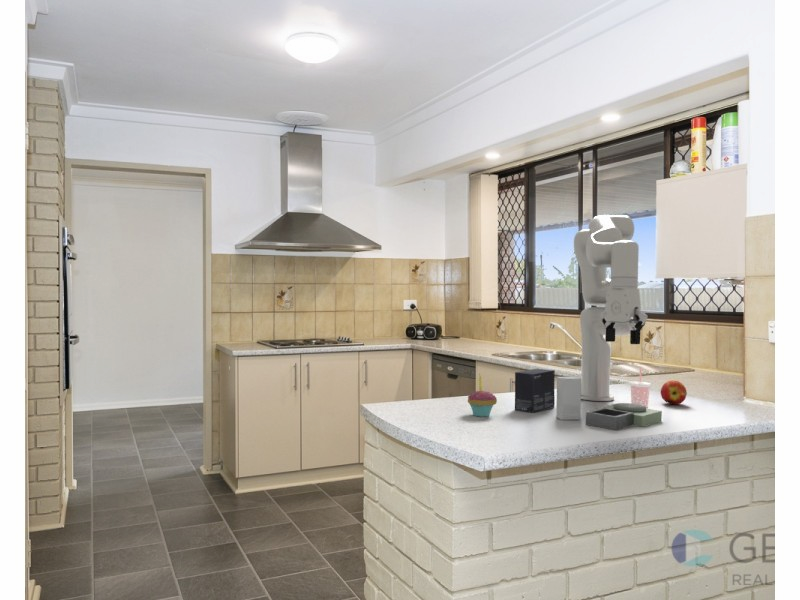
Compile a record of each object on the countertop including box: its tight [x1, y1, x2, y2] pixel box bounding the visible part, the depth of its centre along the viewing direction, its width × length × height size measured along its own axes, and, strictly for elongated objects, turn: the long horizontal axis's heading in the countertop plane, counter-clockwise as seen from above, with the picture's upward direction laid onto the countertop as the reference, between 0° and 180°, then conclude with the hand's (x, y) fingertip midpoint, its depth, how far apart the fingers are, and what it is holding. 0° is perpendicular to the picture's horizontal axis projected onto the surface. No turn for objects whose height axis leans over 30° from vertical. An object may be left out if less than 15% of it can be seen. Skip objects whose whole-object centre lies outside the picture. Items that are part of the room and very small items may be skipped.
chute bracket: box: [585, 408, 634, 431], centre depth 178 cm, size 9×10×4 cm
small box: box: [514, 368, 556, 414], centre depth 199 cm, size 13×7×12 cm, turn 137°
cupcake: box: [467, 373, 498, 418], centre depth 188 cm, size 9×8×12 cm
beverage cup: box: [629, 366, 652, 409], centre depth 198 cm, size 6×6×14 cm
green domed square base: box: [595, 402, 663, 428], centre depth 185 cm, size 14×12×4 cm
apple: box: [660, 379, 688, 405], centre depth 213 cm, size 8×8×8 cm
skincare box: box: [555, 376, 582, 421], centre depth 185 cm, size 6×4×12 cm
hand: (622, 342), depth 185 cm, fingers open, 9 cm apart
